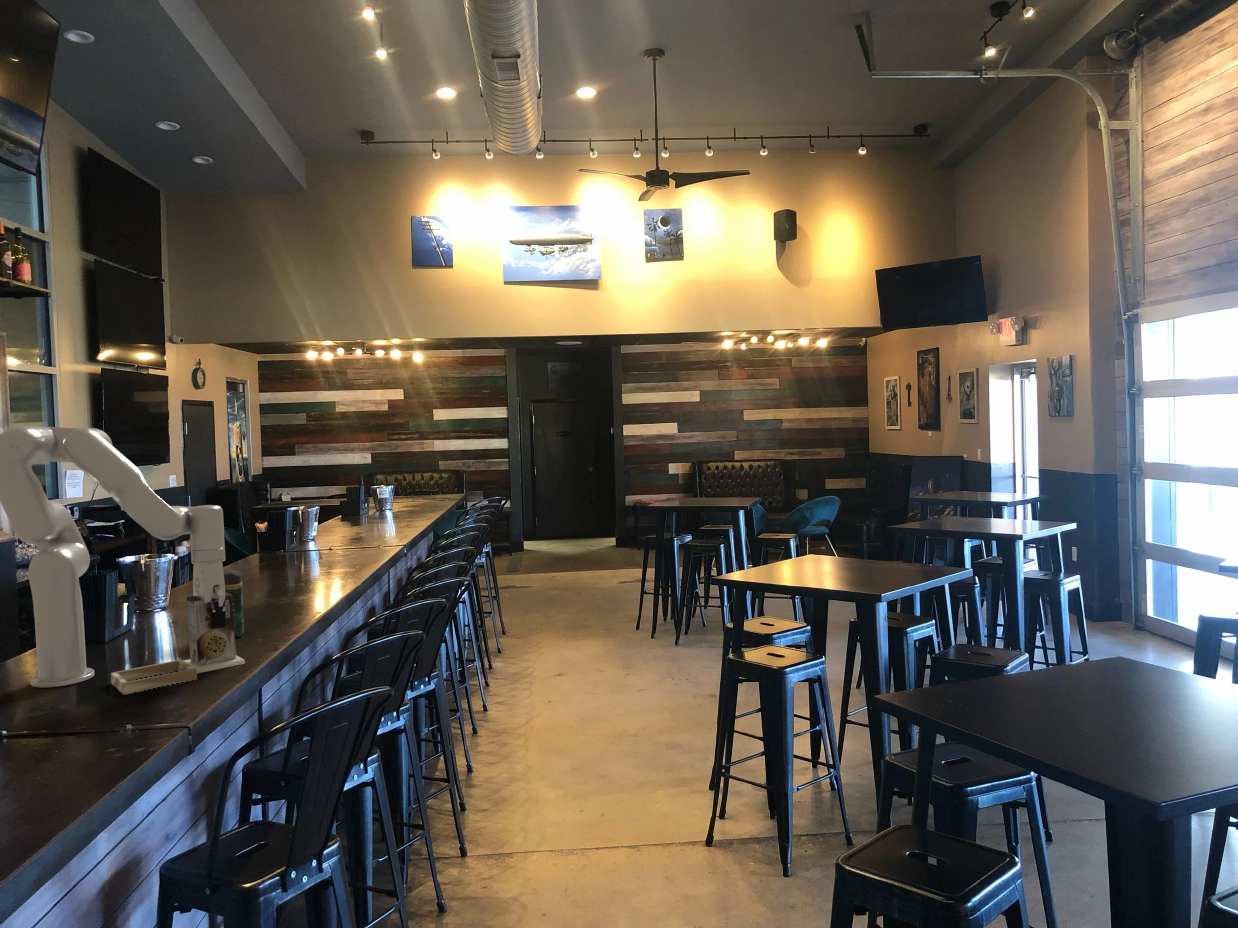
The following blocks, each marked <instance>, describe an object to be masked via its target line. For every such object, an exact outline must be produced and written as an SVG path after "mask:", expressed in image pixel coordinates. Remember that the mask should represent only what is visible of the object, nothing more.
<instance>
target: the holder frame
mask: <svg viewBox="0 0 1238 928" xmlns="http://www.w3.org/2000/svg"><path fill="white" fill-rule="evenodd" d="M174 671H177V672H174ZM169 672H172V673H169ZM163 673H167V674H163ZM159 674H162V675H159ZM154 675H157V676H154ZM150 676H152V677H150ZM145 677H147V678H145ZM140 678H142V679H140ZM136 679H137V680H136ZM192 680H193V681H196V680H198V673H197V669H196V668H194V667H193V666H191V665H190V664H188V663H186V662H185V661H184V660H183V659H182V658H181V659H176V660H171V661H166V662H161V663H155V664H150V665H145V666H140V667H133V668H128V669H123V670H118V671H114V672H113V671H112V672H111V673H110V681H111V685H112V686H113V687H115V688H116V689H117V690H118V692H120V693H121V694H122V695H123V696H125V695H129V694H135V692H136V693H140V692H145V691H149V690H148V689H150V690H154V689H153V688H155V689H157V687H160V688H162V687H161V686H164V687H167V686H166V685H169V686H172V685H171V684H174V685H177V684H176V683H179V684H182V683H181V682H184V683H187V681H188V682H192ZM144 690H145V691H144Z"/></svg>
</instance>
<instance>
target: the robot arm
mask: <svg viewBox="0 0 1238 928" xmlns="http://www.w3.org/2000/svg"><path fill="white" fill-rule="evenodd" d="M41 462H43V463H44V462H46V463H47V462H50V463H51V462H52V463H54V462H55V463H73V465H75V466H76V467H77V468H79V469H80V470H81V471H82V472H84V474H86V475H87V476H88V477H89V478H90V479H91V480H92V481H94V482H95V483H96V484H97V485H99V486H100V487H101V488H102V489H103V490H104V491H106V493H108V495H110V496H111V498H112V500H114V502H115V503H117V504H118V505H119V507H121V509H122V510H123V511H124V512H126V515H127V516H129V517H130V518H132V519H133V521H134V522H136V523H137V524H138V525H139V526H140V527H142V528H143V529H144V530H145V531H146V532H148V533H149V534H150V535H151V536H153V537H154V538H157V539H159V540H162V541H172V540H174V539H175V540H176V539H177V538H178V537H180V536H183V535H189V538H190V539H189V541H190V558H191V559H190V560H191V561H190V562H191V564H192V565H193V566H192V567H193V571H192V596H196V597H198V598H200V599H201V600H202V603H203V604H207V602H209V604H210V607H211V611H212V612H211V613H210V619H211V629H217V628H223V627H225V626H226V623H225V607H224V605H225V604H224V600H225V583H224V573H223V570H224V566H223V562H225V561H226V545H225V527H224V525H225V523H224V510H223V508H222V507H221V506H220V505H216V504H214V505H213V504H205V505H196V506H183V505H169V504H168V503H167V502H165V501H164V500H163V498H161V497H160V496H159V495H158V494H156V493H155V491H153V489H152V488H151V487H150V486H149V484H148V482H147V481H146V480H145V476H144V474H143V472H142V471H141V469H140V468H139V467H138V466H137V465H135V464H134V463H133V462H132V461H131V460H130V459H128V458H127V457H126V456H125V455H124V454H123V453H121V452H120V451H119V450H118V449H117V448H116V447H115V446H114V445H113V442H112V439H111V437H110V436H109V435H108V434H107V433H106V432H105V431H104V430H101V429H98V428H95V427H82V428H81V427H78V428H77V427H60V426H58V427H56V426H39V425H19V426H14V427H11V428H9V429H6V430H5V431H3V432H2V433H0V504H1V506H2V508H3V510H4V512H5V515H6V518H7V519H8V521H9V522H10V525H11V527H12V530H13V531H14V534H15V535H16V537H17V539H19V540H20V541H21V542H23V543H26V544H28V545H29V544H30V545H35V546H36V548H37V549H38V552H37V553H36V554H35V555H34V556H33V558H32V559H31V560H30V563H29V566H28V581H29V586H30V591H31V596H32V604H33V617H34V628H35V643H36V644H35V645H36V646H35V647H36V660H37V675H34V677H32V678H31V679H30V682H29V683H30V686H32V687H33V688H45V689H46V688H47V689H48V688H56V687H58V688H59V687H64V686H69V685H74V684H78V683H82V682H84V681H87V680H89V679H91V678H93V677H94V676H95V670H94V669H93V668H91V667H87V653H86V640H85V639H86V638H85V636H86V635H85V621H84V618H85V617H84V610H83V609H84V608H83V606H84V605H83V596H82V590H81V586H80V579H79V578H80V577H81V576H83V575H84V574H85V573H86V572H87V570H88V569H89V568H90V563H91V556H90V553H89V549H88V548H87V545H86V543H85V541H84V539H83V537H82V535H81V532H80V531H79V528H78V525H77V524H76V522H75V520H74V518H73V516H72V514H71V513H70V511H69V509H68V508H66V507H65V506H64V505H63V504H61V503H60V502H57V501H54V500H49V499H48V497H47V495H46V493H45V491H44V488H43V485H42V484H41V482H40V480H39V478H38V477H37V475H36V474H35V471H33V466H32V464H33V463H41ZM212 599H215V600H212ZM214 604H215V607H214Z"/></svg>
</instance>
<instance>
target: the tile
mask: <svg viewBox="0 0 1238 928" xmlns="http://www.w3.org/2000/svg"><path fill="white" fill-rule="evenodd" d="M183 661H185V662H186V663H188V664H190V665H191V666H193V667H194V668H196V669H197V674H201V673H207V672H211V671H217V670H221V669H224V668H230V667H235V666H240V665H245V664H246V661H245V659H244V658H242V657H241V656H238V655H237V654H236V658H234V659H230V660H225V661H220V662H215V663H211V664H206V665H201V666H197V665H195V664H194V663H192V662H191V661H190V659H185V660H183Z"/></svg>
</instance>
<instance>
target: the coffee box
mask: <svg viewBox="0 0 1238 928" xmlns="http://www.w3.org/2000/svg"><path fill="white" fill-rule="evenodd" d="M212 600H215V599H212ZM224 604H225V605H224V607H225V623H226V626H225V627H223V628H217V629H211V619H210V613H211V612H212V611H211V607H210V604H209V602H207V604H203V603H202V600H201V599H200V598H198V597H196V596H193V595H192V596H187V597H186V608H187V610H186V611H187V625H188V626H187V627H188V639H189V641H188V643H189V658H190V661H191V662H192V663H194V664H195V665H197V666H201V665H206V664H211V663H215V662H220V661H225V660H230V659H234V658H236V655H237V652H236V651H237V650H236V637H235V633H234V618H233V603H232V595H231V594H229V593H227V592H225V600H224ZM214 607H215V604H214Z"/></svg>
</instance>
